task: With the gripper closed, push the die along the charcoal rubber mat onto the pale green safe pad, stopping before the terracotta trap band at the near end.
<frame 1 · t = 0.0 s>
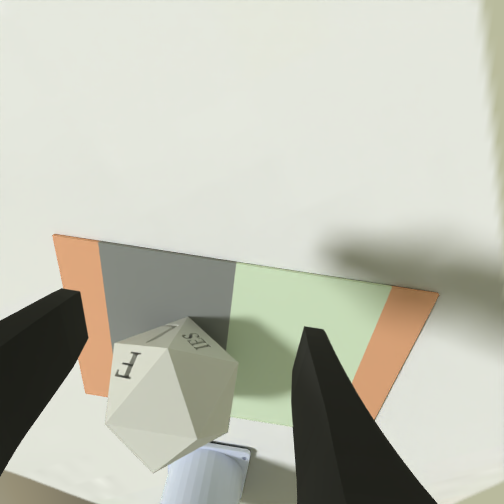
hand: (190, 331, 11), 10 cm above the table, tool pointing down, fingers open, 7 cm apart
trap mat: (232, 350, 25), on the table
die: (187, 343, 25), resting on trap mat
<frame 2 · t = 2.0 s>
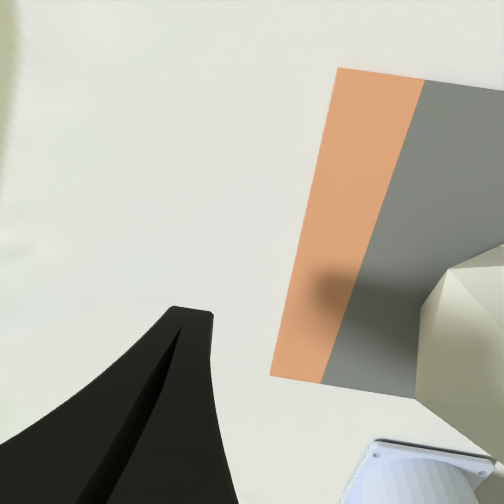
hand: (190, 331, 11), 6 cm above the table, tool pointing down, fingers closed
die: (485, 288, 15), resting on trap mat
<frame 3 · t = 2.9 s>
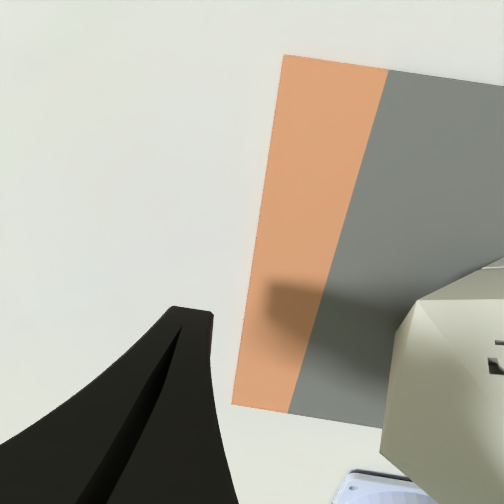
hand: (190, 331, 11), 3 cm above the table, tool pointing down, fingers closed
die: (467, 313, 13), resting on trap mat
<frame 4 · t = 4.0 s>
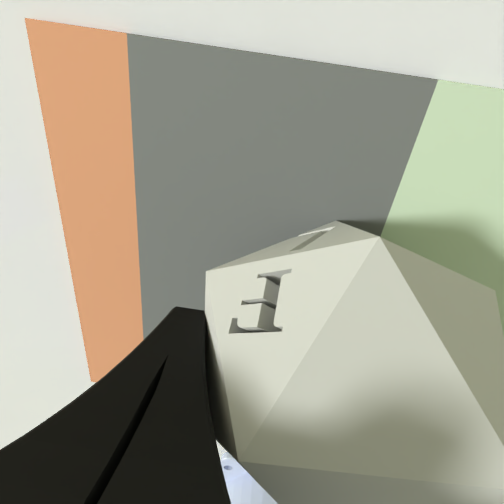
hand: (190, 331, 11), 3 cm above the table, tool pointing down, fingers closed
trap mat: (368, 298, 13), on the table
die: (324, 284, 13), resting on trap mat, touching gripper
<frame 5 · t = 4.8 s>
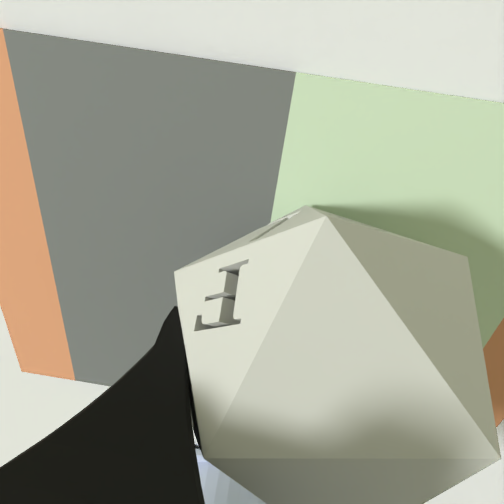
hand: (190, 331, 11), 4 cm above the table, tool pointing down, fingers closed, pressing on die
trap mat: (271, 287, 14), on the table
die: (305, 270, 13), resting on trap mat, touching gripper
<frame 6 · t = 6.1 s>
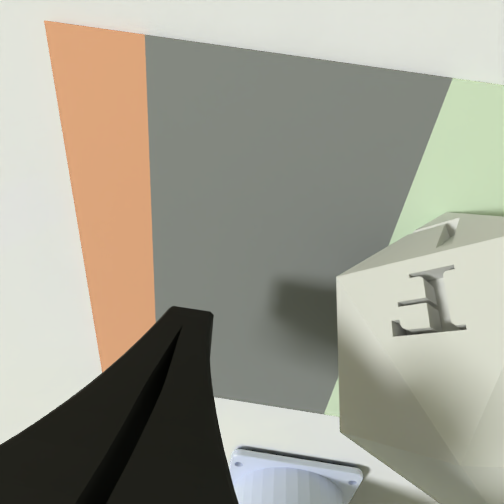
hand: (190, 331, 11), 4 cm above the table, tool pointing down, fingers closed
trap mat: (379, 295, 14), on the table
die: (429, 278, 13), resting on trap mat
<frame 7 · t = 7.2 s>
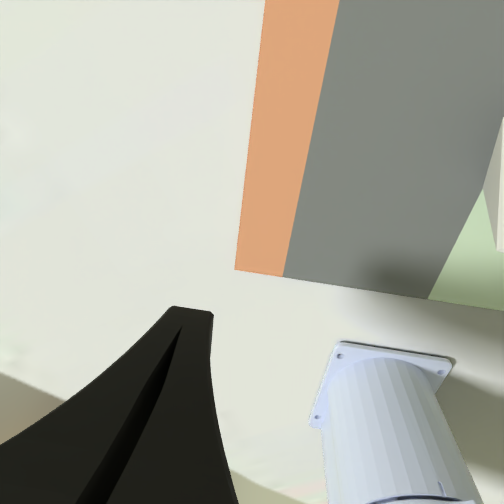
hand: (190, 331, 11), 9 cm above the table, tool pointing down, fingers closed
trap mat: (498, 172, 16), on the table
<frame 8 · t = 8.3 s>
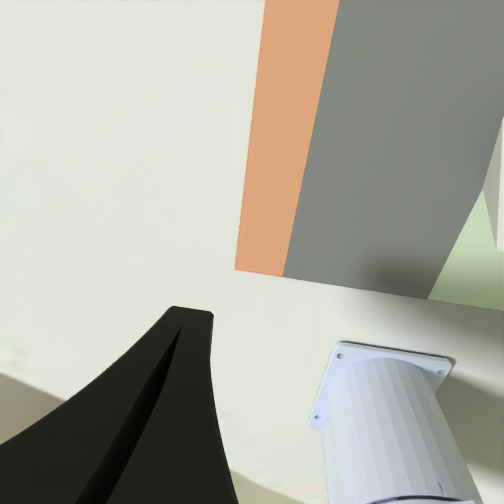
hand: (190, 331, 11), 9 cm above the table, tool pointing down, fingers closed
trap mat: (498, 172, 16), on the table
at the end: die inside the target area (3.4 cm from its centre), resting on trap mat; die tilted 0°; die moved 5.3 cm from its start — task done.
